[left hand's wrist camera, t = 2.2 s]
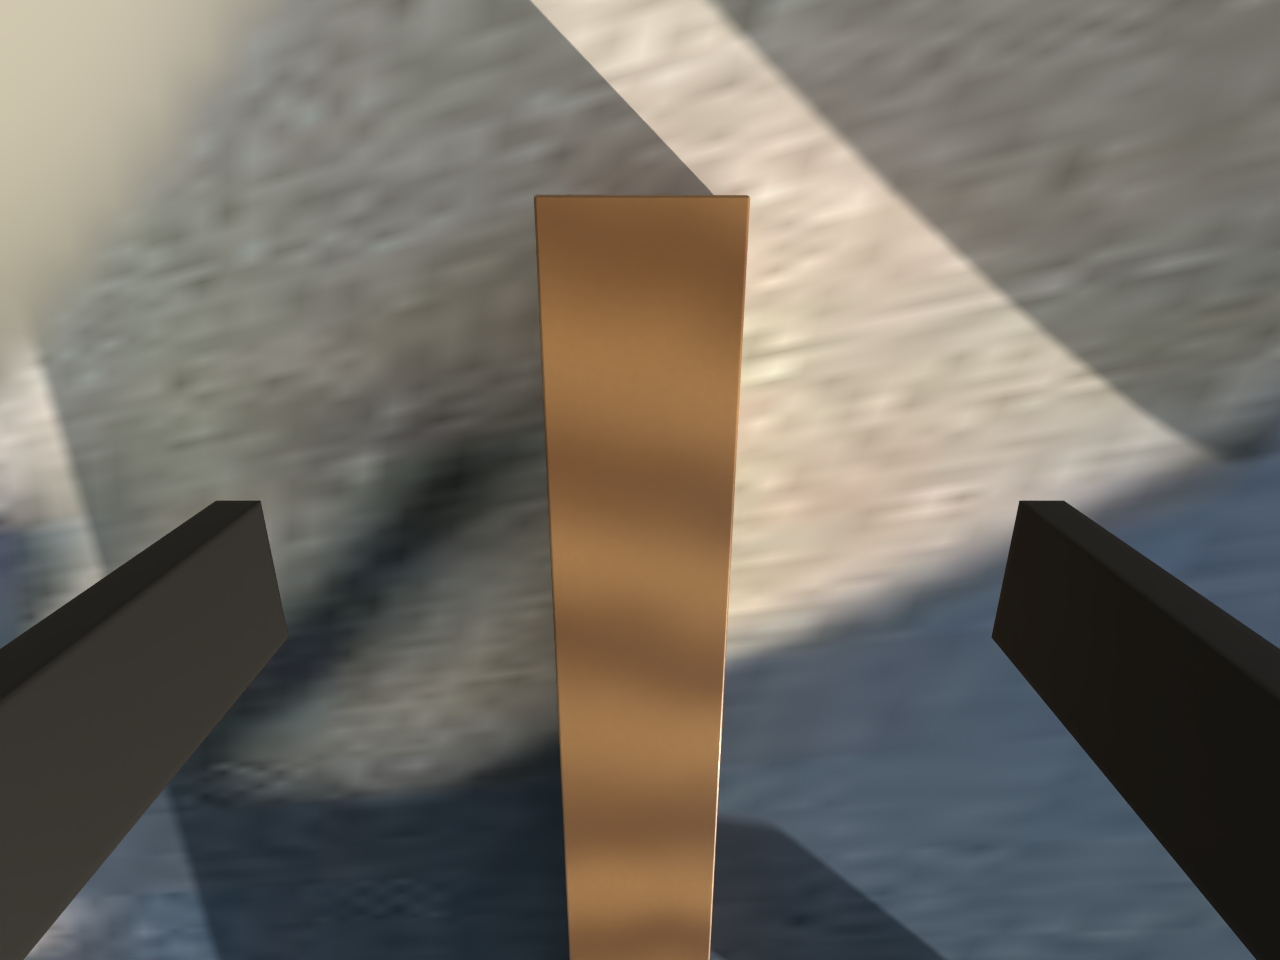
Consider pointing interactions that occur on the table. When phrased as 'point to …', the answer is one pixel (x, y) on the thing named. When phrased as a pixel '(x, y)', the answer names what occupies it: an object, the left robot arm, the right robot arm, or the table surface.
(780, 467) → the table surface
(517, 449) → the table surface
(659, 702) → the bar
